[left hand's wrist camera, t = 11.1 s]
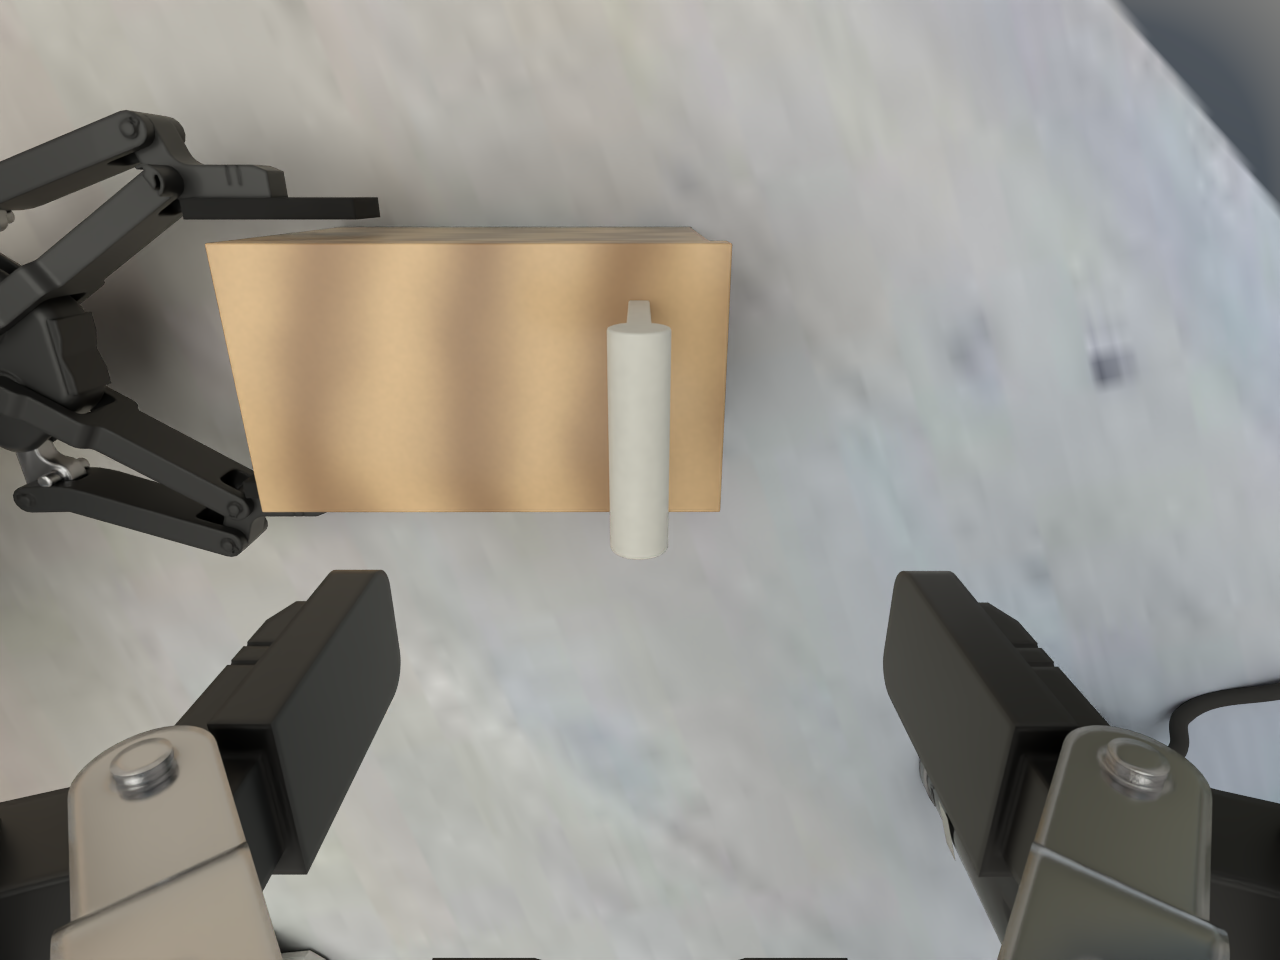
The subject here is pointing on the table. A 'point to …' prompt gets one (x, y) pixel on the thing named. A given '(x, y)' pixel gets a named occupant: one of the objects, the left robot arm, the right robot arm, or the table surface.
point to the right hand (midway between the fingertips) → (386, 352)
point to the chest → (490, 234)
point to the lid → (482, 376)
